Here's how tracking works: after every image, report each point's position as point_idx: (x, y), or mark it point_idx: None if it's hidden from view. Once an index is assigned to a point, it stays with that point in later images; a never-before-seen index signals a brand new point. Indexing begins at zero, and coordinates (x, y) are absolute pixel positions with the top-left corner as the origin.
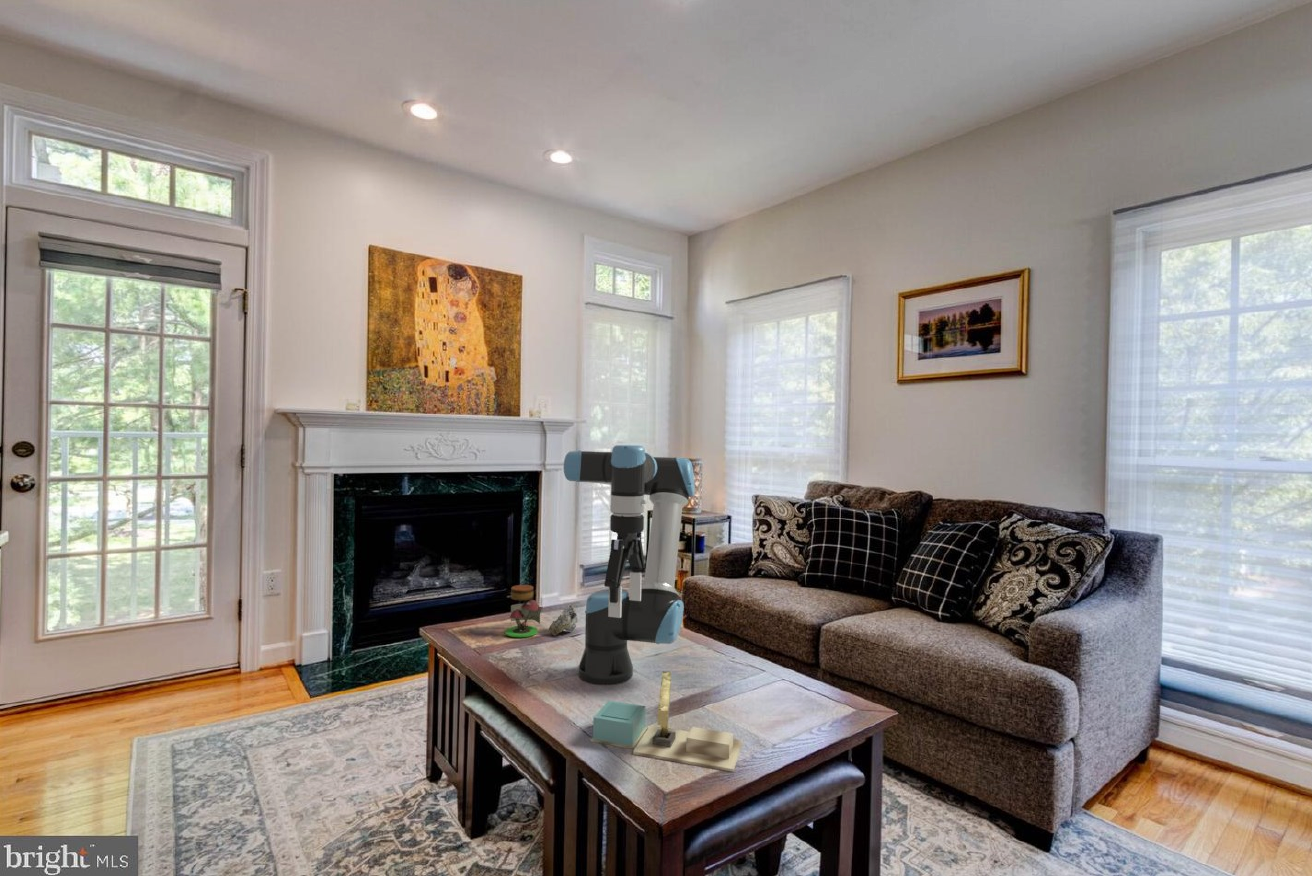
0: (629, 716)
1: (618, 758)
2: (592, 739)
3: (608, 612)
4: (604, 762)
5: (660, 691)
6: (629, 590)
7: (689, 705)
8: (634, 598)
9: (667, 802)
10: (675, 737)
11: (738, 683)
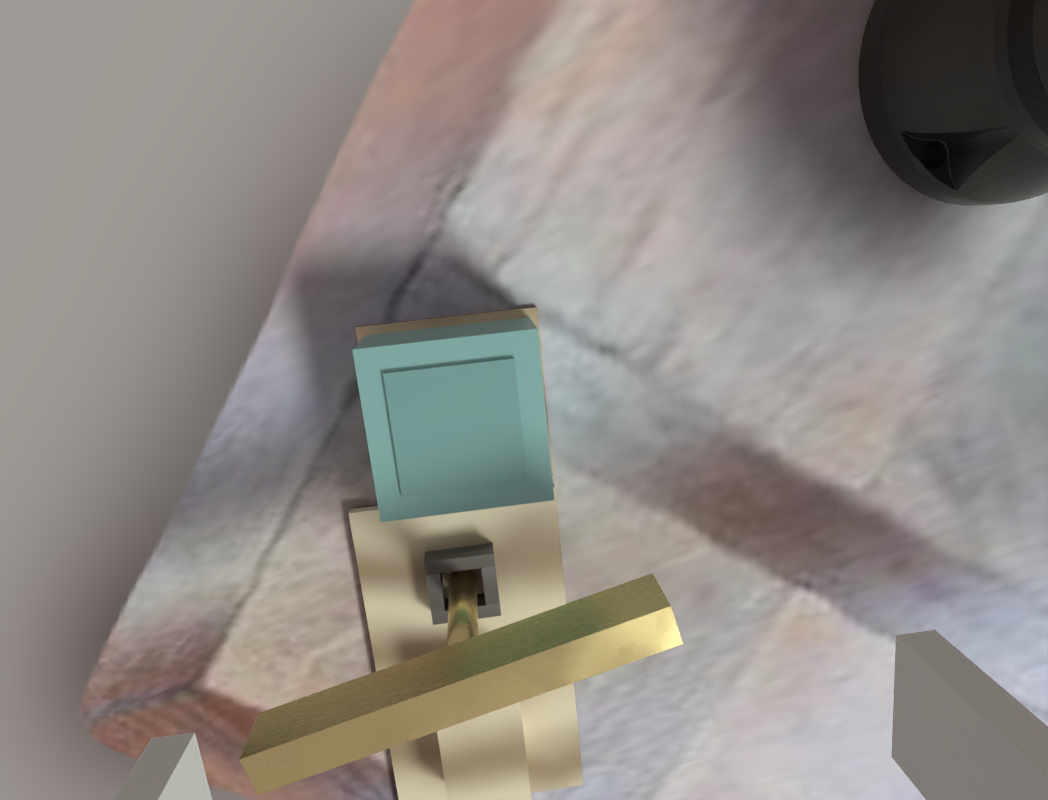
0: (426, 487)
1: (300, 477)
2: (365, 332)
3: (127, 778)
4: (251, 446)
5: (431, 692)
6: (983, 720)
7: (786, 540)
8: (911, 711)
9: (155, 707)
10: (506, 600)
11: (1038, 634)
